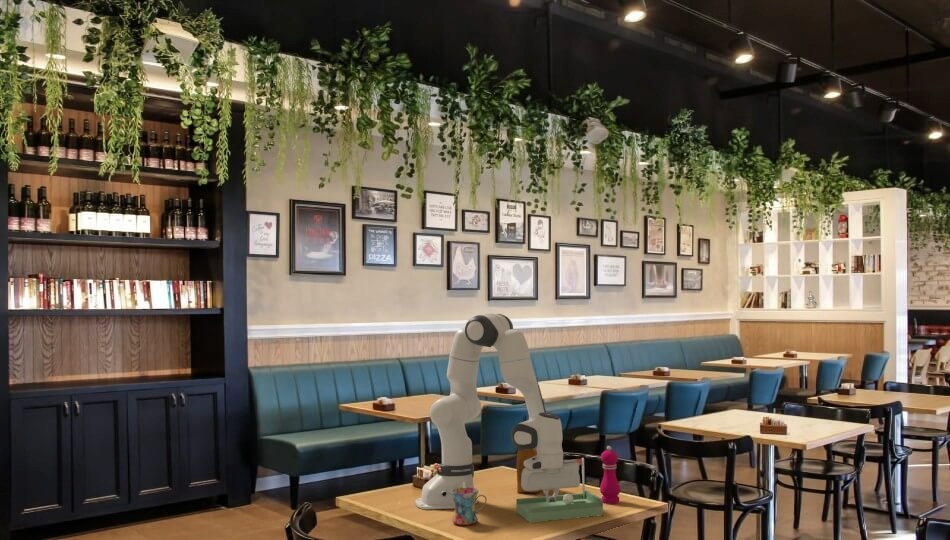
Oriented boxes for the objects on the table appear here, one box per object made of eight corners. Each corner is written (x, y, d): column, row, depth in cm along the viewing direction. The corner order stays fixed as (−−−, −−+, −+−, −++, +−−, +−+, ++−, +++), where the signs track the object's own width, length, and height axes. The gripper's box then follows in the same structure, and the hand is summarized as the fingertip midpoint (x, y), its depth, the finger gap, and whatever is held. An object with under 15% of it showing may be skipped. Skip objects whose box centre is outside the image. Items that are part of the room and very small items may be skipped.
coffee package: (549, 488, 316) (548, 431, 316) (537, 495, 304) (536, 436, 305) (525, 486, 320) (524, 429, 321) (513, 493, 309) (512, 434, 309)
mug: (448, 526, 265) (447, 493, 266) (454, 518, 274) (453, 487, 275) (484, 527, 263) (484, 494, 263) (489, 519, 272) (488, 487, 273)
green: (529, 522, 268) (528, 470, 268) (516, 512, 281) (515, 462, 282) (602, 515, 274) (601, 464, 275) (586, 505, 288) (585, 457, 289)
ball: (569, 507, 277) (563, 499, 276) (565, 505, 280) (559, 497, 280) (577, 500, 278) (571, 492, 277) (573, 498, 281) (567, 490, 281)
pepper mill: (607, 505, 288) (606, 448, 288) (596, 501, 294) (595, 445, 295) (624, 503, 291) (623, 446, 291) (613, 498, 297) (611, 443, 298)
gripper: (575, 457, 283) (576, 497, 283) (519, 461, 278) (520, 502, 278) (582, 460, 277) (583, 501, 277) (524, 465, 272) (525, 506, 271)
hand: (551, 502), depth 277 cm, fingers closed
